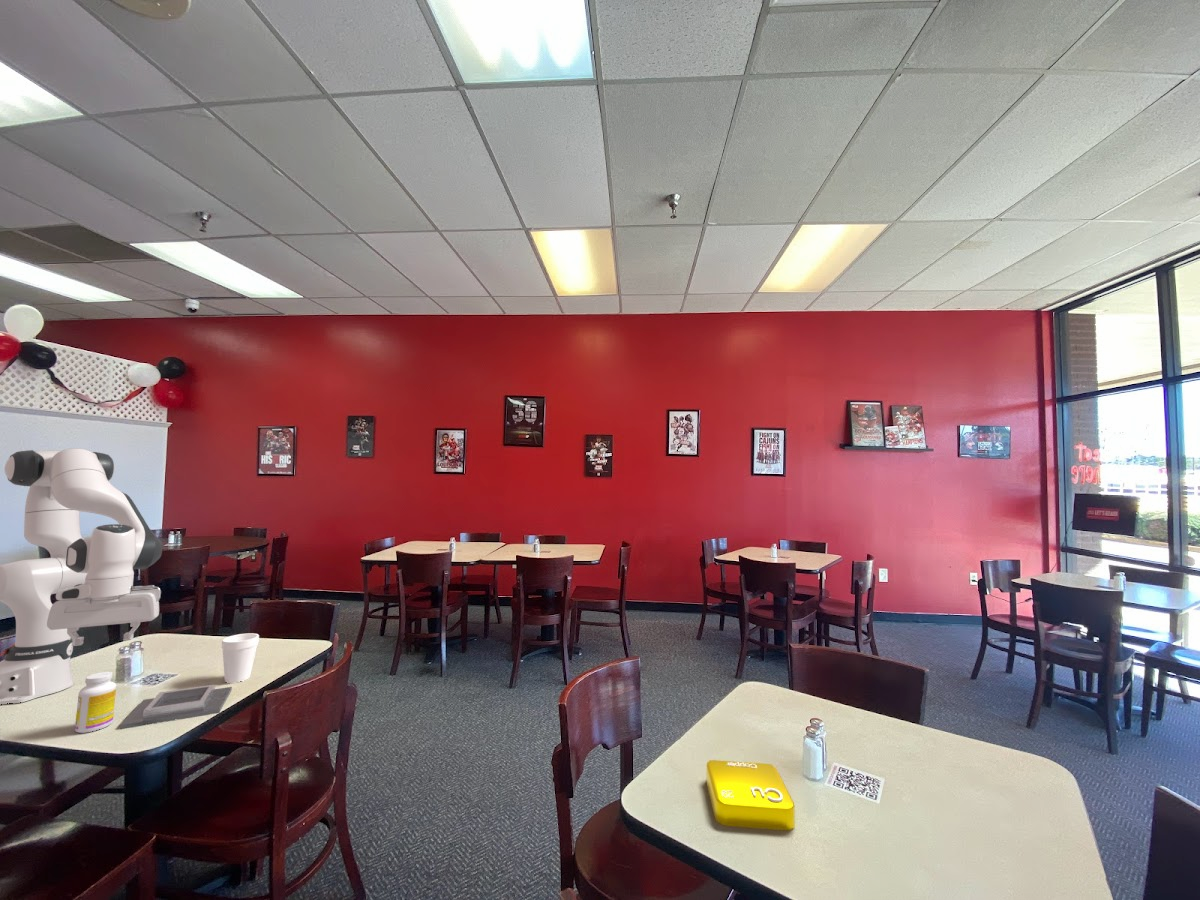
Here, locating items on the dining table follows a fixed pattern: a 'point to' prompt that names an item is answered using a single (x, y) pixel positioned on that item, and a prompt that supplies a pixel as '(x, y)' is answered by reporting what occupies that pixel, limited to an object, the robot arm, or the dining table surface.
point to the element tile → (749, 795)
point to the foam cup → (239, 656)
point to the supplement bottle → (95, 703)
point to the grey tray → (178, 705)
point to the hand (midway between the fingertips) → (103, 642)
